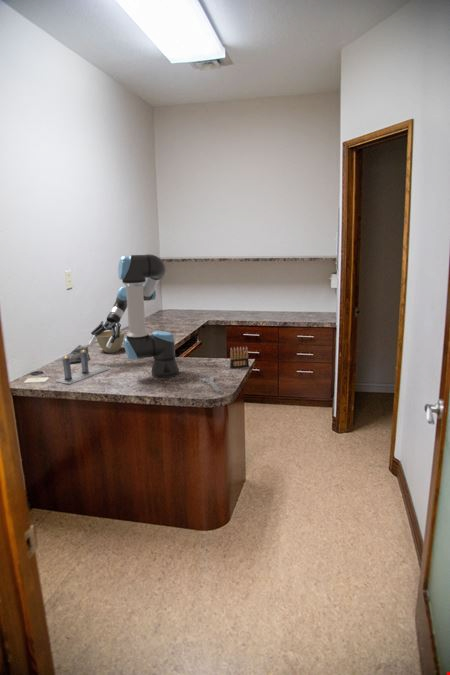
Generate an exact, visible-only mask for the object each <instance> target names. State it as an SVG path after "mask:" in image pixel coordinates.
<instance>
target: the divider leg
mask: <svg viewBox="0 0 450 675" xmlns="http://www.w3.org/2000/svg"><path fill="white" fill-rule="evenodd" d="M80 355H81V361H80V363H81V370H82V372H88V371H89V370H88V368H89V362H88V361H89V360H87V352H86V350H81V353H80Z"/></svg>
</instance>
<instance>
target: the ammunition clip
mask: <svg viewBox="0 0 450 675" xmlns="http://www.w3.org/2000/svg"><path fill="white" fill-rule="evenodd" d="M229 356H230V357H229V358H230V359H229V368H230V369H232V370H233V369H240V368H241V369H242V368H249V367H250V361H249V350H248V346H247V345H246V347H245V346H243V347H242V346H240V347H238V346H237V347H235V346H234V347H230V354H229Z"/></svg>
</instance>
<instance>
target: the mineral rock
mask: <svg viewBox="0 0 450 675" xmlns="http://www.w3.org/2000/svg"><path fill="white" fill-rule="evenodd" d="M81 350H86V352H87V360H88V361H89V360H90V359H91V356H90V354H89V347H88V346H87V345H81V344H79V345H77V346H76V347H75V348H74V349H73V350H72V351H71V352H70V353H69V354H68V355H67V356H69V358H70V363H79V362H80V363H81V355H80V353H81Z"/></svg>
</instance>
